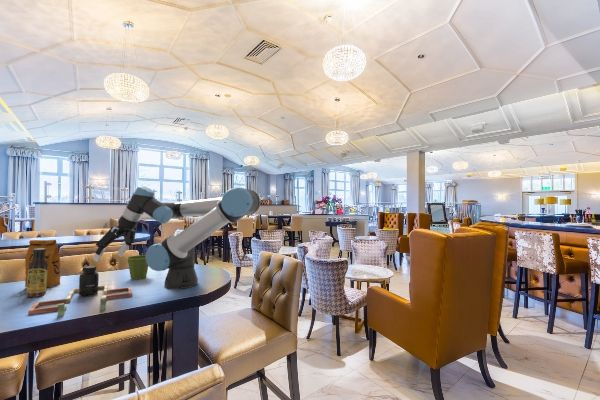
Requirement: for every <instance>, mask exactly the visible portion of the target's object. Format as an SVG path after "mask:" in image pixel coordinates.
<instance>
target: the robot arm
mask: <svg viewBox="0 0 600 400" xmlns="http://www.w3.org/2000/svg"><path fill="white" fill-rule="evenodd" d="M154 196H155V191H153V189H151V188H149V187H147V186H143V185H138V186H137V188H136V189H135V190H134V192H133V193H132V196H131V198H130V199H129V202H128V203H127V205H126V206H125V208H124V211H123V212H122V214H121V215H120V217H119V219H117V220H118V221H117V224H118V225H117V226H116V227H115V226H113V225H112V226H111V227H110V229H109V230H108V231H107V232H106V233H105V234H104V235H103V236H102V237H101V238H100V239H99V240H98V241H97V242H96V243H95V246H96V247H97V250H96V251H95V253H94V255H93V257H92V260H94V261H95V262H97V263H99V262H100V260H101V258H102V256H103V255H104V253H105V251H106V248H107V247H108V246H109V245H110V244H112V243H113V242H114V241H115V240H116V239H119V238H121V237H123V239H124V242H122V244H121V245H120V247H119V249H118V251H117V253H116V255H117V256H118V257H120V258H122V257H123V256H124V255H125V253H126V250H127V249H128V247H129V246H130V247H131V246H132V245H133V244H134V243H135V238H136V233H137V230H138V227H137V226H138V224H139V222H140V221H141V218H143V215H144V213H145V214H146V215H148V216H149V217H150V218H152V219H153V220H155V221H156V222H158V223H160V224H166V223H168V222H169V221H170V220H171V219H181V218H187V217H188V218H189V217H196V216H197V217H198V216H199V217H200V216H202V217H200V218H198V219H197V220H196V221H195V222H193V223H192V224H190V225H189V226H187V227H186V228H184V229H183V230H182V231H180V232H179V233H178V234H176V235H172V234H171V235H169V236H168V237H165V239H163V240H162V241H160V242H159V243H153V244H152V245H150V246H149V247H148V248H147V250H146V252H145V255H146V262H147V264H148V268H150V270H152V271H156V272H161V271H166V270H168V271H167V273H166V277H165V279H164V288H167V289H174V290H179V289H186V288H192V287H195V286H197V285H198V283H199V279H198V275H197V272H196V269H195V249H196V248H195V247H196V246H197V245H199V244H200V243H201V242H202V243H203V241H205V240H206V239H208V238H209V237H211V236H212V235H213V234H215V233H216V232H217V231H219V230H220V229H221V228H224V226H226V225H228V224H229V223H230V224H235V223H236V222H238V221H240V220H241V219H242V218H243V217H246V216H249V215H253V214H255V213H256V212H258V210H259V209H260V206H261V198H260V196H259V194H258V193H257V192H256V191H254V190H253V189H248V188H244V187H233V188H229V190H228V189H227V190H226V192H224V194H223V195H222V197H214V198H207V199H204V198H203V199H198V200H197V199H196V200H188V201H180V202H179V201H178V202H161V201H160V200H158V199H156V198H155V197H154Z"/></svg>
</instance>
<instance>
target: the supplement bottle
mask: <svg viewBox="0 0 600 400" xmlns="http://www.w3.org/2000/svg"><path fill="white" fill-rule="evenodd" d="M99 277H100V276H99V272H98V271H97V266H96V265H87V266H86V265H85V266H82V273H80V275H79V278H78V279H79V280H78V288H79V292H78V296H79V297H92V296H95V295H98V293H99V290H98V286H99Z"/></svg>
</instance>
